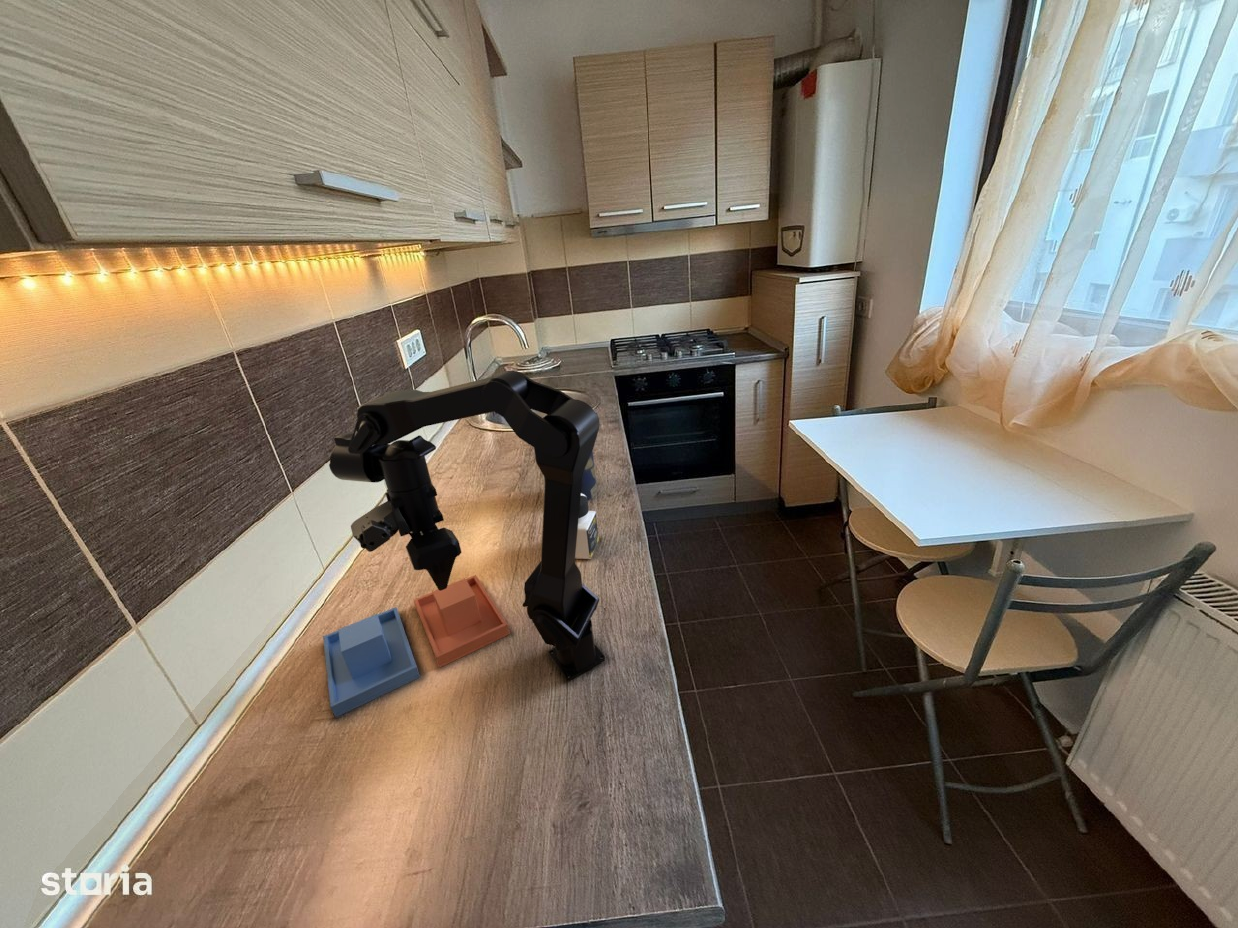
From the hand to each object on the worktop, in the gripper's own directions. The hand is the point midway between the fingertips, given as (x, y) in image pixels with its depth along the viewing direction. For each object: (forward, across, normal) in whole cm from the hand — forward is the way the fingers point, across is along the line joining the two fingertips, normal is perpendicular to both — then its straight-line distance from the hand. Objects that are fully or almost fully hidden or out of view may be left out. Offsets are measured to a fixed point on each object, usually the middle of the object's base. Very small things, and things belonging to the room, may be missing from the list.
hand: (435, 573), depth 73 cm
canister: (+12, -28, +39) cm, 50 cm away
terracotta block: (+11, -2, +2) cm, 12 cm away
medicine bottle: (+12, -8, +28) cm, 32 cm away
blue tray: (+12, -2, -12) cm, 17 cm away
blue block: (+11, -2, -12) cm, 17 cm away
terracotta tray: (+12, -2, +2) cm, 12 cm away
